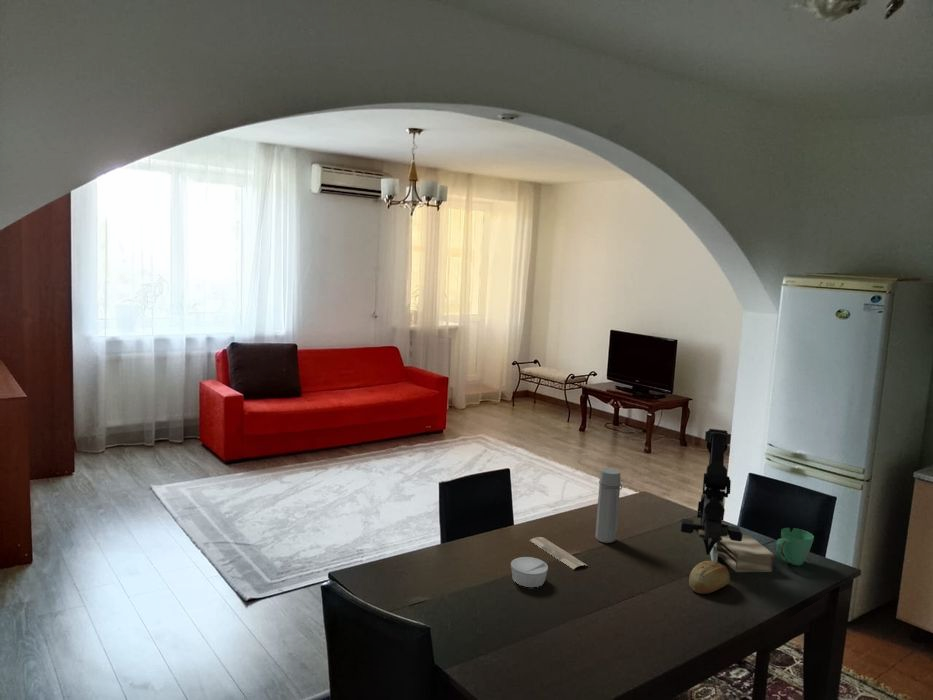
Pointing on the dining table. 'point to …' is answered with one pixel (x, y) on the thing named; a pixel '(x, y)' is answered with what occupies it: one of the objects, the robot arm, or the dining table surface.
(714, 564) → the bread roll
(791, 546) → the mug
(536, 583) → the ramekin
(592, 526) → the dining table surface
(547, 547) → the newspaper
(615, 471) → the water bottle
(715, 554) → the door
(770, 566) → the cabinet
